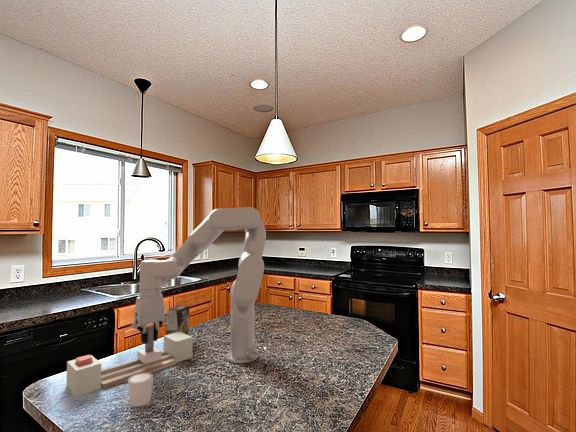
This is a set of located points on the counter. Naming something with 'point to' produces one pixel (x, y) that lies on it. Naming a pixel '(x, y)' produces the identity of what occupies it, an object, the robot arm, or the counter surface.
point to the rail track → (133, 370)
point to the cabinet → (178, 346)
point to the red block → (83, 360)
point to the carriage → (149, 348)
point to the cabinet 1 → (83, 377)
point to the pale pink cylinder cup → (140, 389)
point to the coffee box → (177, 320)
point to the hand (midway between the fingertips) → (149, 341)
